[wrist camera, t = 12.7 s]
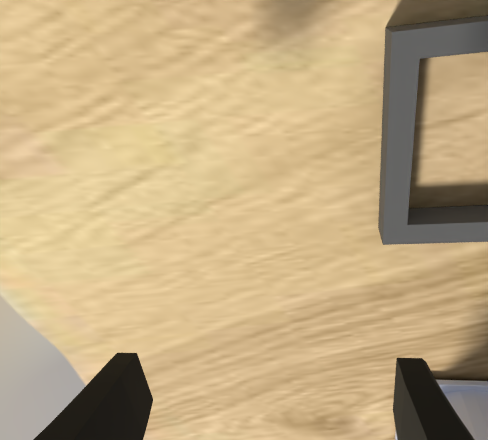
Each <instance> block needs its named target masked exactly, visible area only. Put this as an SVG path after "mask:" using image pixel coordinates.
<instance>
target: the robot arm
mask: <svg viewBox="0 0 488 440" xmlns="http://www.w3.org/2000/svg"><path fill="white" fill-rule="evenodd" d="M152 402H153V398H152V395H151V392H150V389H149V386H148V384H147V381H146V378H145V375H144V372H143V369H142V367H141V364H140V361H139V358H138V355H137V353H117V354H116V355H115V356H114V357H113V358H112V359H111V360H110V361H109V362H108V363H107V364H106V365H105V366H104V367H103V368H102V370H101V371H100V372H99V373H98V374H97V375H96V376H95V377H94V378H93V379H92V380H91V381H90V382H89V384H88V385H87V386H86V387H85V388H84V389H83V390H82V391H81V392H80V393H79V394H78V395H77V396H76V397H75V398H74V399H73V401H72V402H71V403H70V404H69V405H68V406H67V407H66V408H65V409H64V410H63V411H62V412H61V413H60V414H59V415H58V416H57V417H56V418H55V419H54V420H53V421H52V422H51V423H50V424H49V425H48V426H47V427H46V428H45V429H44V430H43V431H42V432H41V433H40V434H39V435H38V436H37V437H36V438H35V439H34V440H143V437H144V434H145V430H146V427H147V423H148V419H149V415H150V411H151V406H152ZM393 412H394V420H395V427H396V431H395V440H488V381H469V380H436V379H435V378H434V376H433V374H432V372H431V371H430V369H429V367H428V365H427V363H426V362H425V361H424V360H423V359H422V358H397V362H396V376H395V389H394V403H393Z"/></svg>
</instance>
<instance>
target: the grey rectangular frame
mask: <svg viewBox="0 0 488 440" xmlns="http://www.w3.org/2000/svg"><path fill="white" fill-rule="evenodd" d="M479 52H488V15H486V16H478V17H470V18H461V19H453V20H444V21H436V22H427V23H419V24H411V25H402V26H394V27H386V30H385V58H384V87H383V115H382V143H381V171H380V199H379V227H378V228H379V232H380V235H381V239H382V243H383V245H386V244H421V243H456V242H488V205H478V206H455V207H432V208H409V196H410V182H411V169H412V155H413V142H414V129H415V115H416V102H417V88H418V75H419V61H420V59H421V58H431V57H440V56H450V55H459V54H469V53H479Z"/></svg>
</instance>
